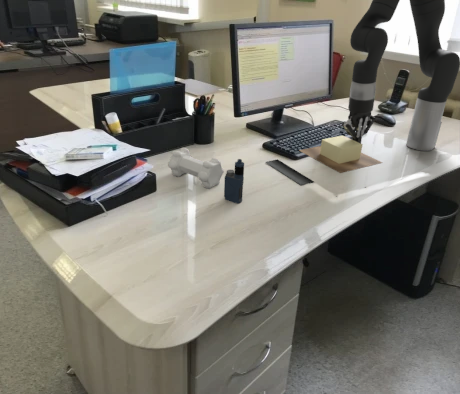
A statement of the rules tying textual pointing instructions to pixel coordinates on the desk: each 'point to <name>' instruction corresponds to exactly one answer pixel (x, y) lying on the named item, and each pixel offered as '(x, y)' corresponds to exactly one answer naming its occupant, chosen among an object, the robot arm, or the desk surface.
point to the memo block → (341, 149)
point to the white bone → (196, 167)
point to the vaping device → (234, 183)
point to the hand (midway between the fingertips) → (356, 146)
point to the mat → (289, 172)
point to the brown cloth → (341, 167)
